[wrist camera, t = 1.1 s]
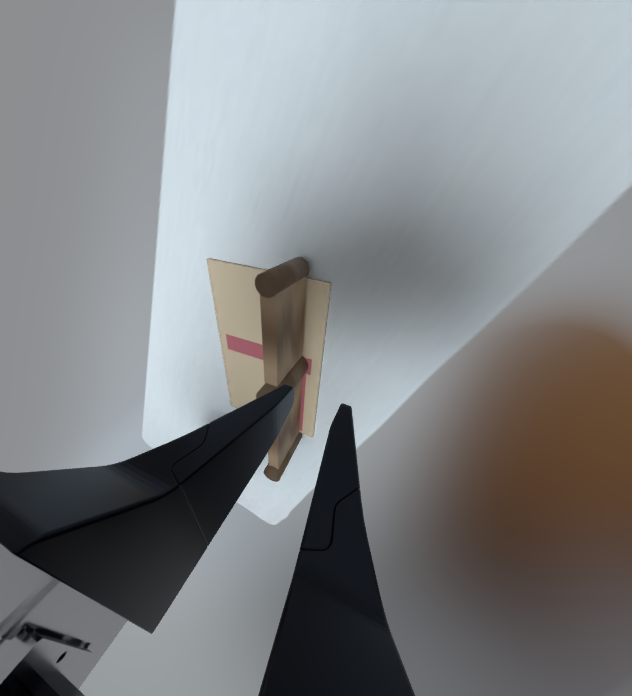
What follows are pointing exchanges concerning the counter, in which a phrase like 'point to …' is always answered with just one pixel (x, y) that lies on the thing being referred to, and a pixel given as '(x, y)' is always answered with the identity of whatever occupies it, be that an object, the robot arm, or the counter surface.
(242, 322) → the card
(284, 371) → the fence gate
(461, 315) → the counter surface
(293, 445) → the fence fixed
